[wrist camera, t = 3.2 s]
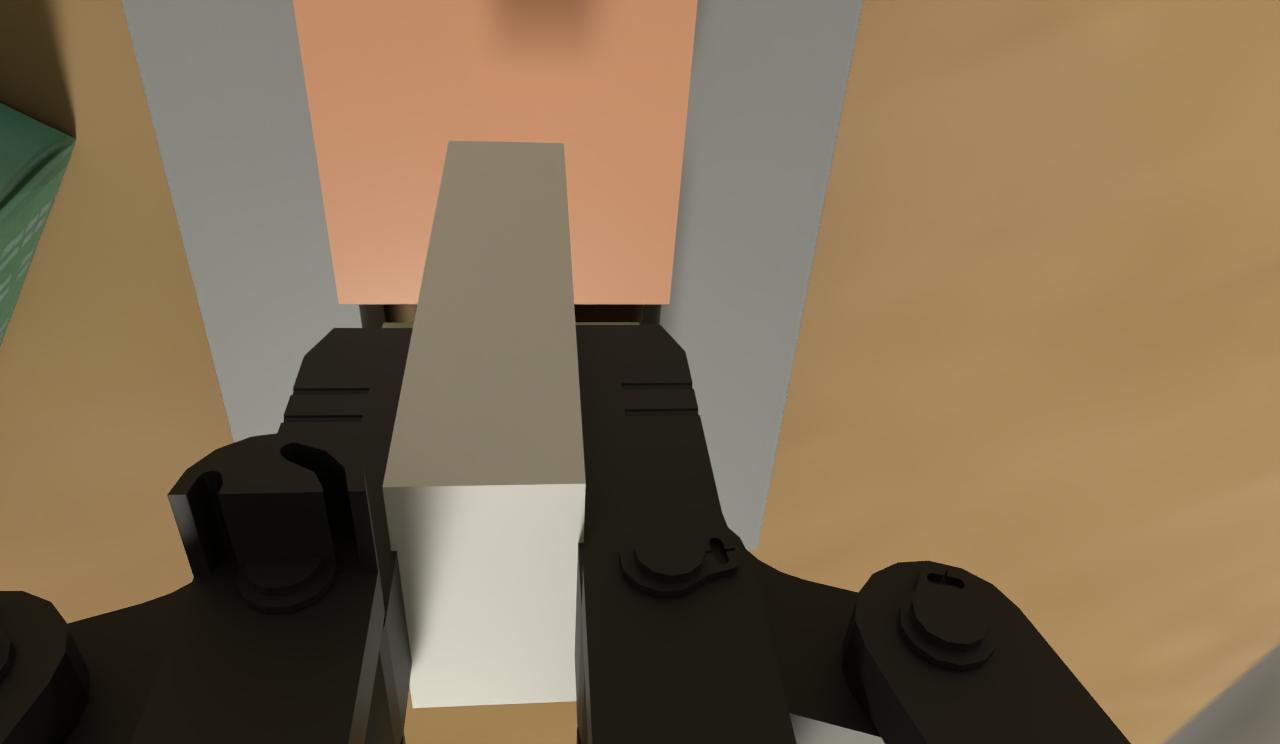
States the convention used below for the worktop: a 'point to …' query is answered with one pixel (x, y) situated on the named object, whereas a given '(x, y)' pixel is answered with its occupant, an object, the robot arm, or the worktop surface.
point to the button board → (695, 317)
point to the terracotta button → (499, 127)
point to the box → (25, 196)
